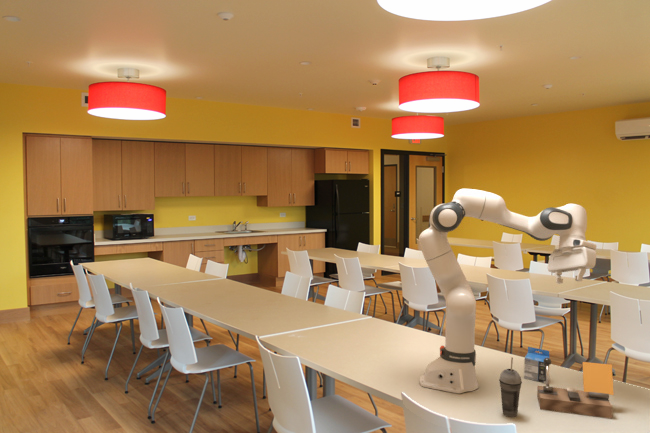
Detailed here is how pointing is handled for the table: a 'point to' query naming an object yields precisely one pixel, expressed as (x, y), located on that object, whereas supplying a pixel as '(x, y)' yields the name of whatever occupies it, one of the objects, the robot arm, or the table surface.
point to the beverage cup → (510, 391)
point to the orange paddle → (598, 379)
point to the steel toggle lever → (547, 376)
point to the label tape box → (535, 364)
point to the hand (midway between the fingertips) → (568, 282)
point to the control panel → (573, 402)
